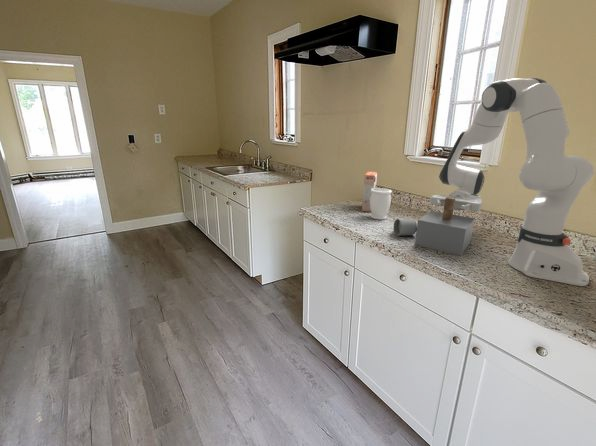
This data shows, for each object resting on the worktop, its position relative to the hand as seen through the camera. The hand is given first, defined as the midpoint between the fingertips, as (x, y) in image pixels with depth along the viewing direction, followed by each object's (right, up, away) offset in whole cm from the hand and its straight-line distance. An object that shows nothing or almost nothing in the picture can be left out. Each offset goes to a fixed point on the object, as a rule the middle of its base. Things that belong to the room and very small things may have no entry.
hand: (450, 206), depth 131 cm
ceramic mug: (-15, -12, +14) cm, 24 cm away
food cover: (-2, -16, +3) cm, 16 cm away
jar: (-20, -4, +38) cm, 43 cm away
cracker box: (-22, +1, +54) cm, 59 cm away
